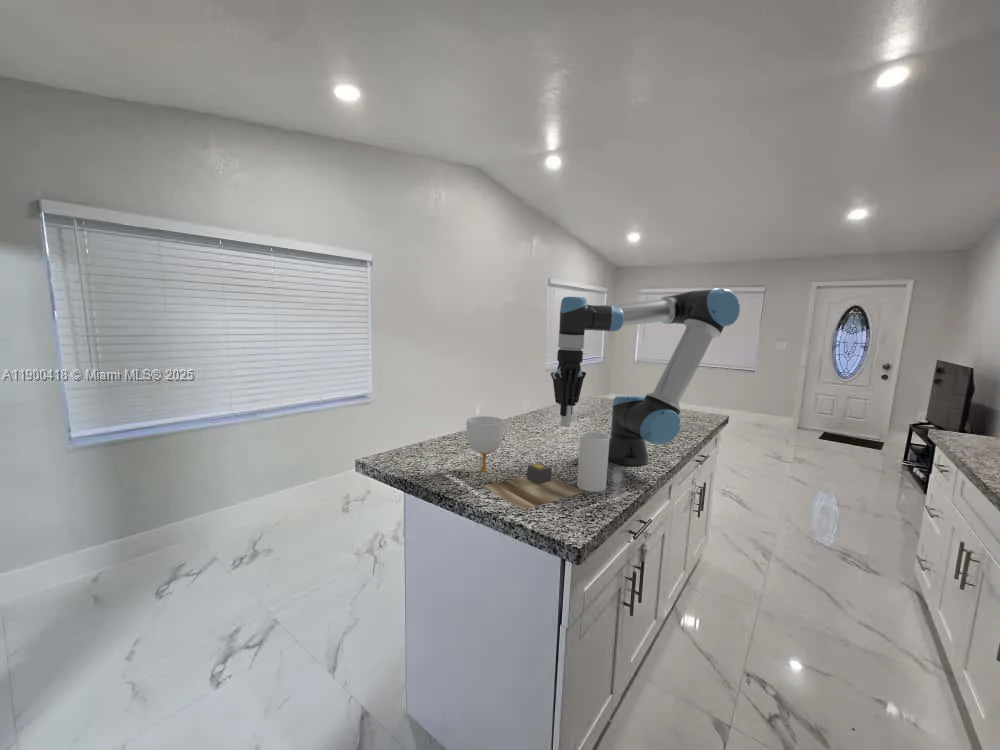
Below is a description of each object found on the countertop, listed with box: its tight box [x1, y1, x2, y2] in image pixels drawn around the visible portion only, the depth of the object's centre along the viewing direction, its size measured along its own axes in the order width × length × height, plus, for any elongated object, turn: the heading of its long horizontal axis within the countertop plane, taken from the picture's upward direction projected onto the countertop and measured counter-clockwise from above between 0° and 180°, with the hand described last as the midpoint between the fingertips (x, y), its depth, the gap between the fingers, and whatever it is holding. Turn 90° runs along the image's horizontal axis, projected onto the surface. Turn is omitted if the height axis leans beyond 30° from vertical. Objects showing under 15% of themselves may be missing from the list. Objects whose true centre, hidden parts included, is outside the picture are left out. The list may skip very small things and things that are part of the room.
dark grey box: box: [526, 462, 553, 484], centre depth 125 cm, size 5×5×4 cm
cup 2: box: [576, 431, 610, 493], centre depth 121 cm, size 8×8×16 cm
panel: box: [483, 475, 585, 511], centre depth 118 cm, size 22×18×1 cm
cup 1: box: [465, 415, 505, 473], centre depth 130 cm, size 12×12×17 cm
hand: (565, 426), depth 129 cm, fingers closed
